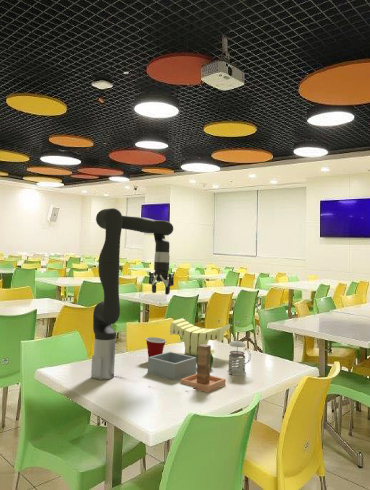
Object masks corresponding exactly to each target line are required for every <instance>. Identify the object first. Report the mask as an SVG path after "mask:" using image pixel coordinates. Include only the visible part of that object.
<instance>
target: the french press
mask: <svg viewBox="0 0 370 490" xmlns="http://www.w3.org/2000/svg"><path fill="white" fill-rule="evenodd" d="M236 324H237V325H239V324H241V321H240V320H236ZM228 344H229V346H231V347H234V348H236V350H231V351H229V353H230V354H229V355H228V370H226V372H227V373H228V375H230V374H232V375H231V376H235V375H243V376H246V375H247V374H246V373H247V372H246V364H249V362H250V361H251V357H252V354H251V352H250V349H249V348H246V345H247V344H246V343H245V342H244V341H239V338H237V340H233V341H231V342H229V343H228ZM243 347H245V348H244V350H243V351H240V350H238V349H239V348H243ZM246 351H247V353H248V358H249V359H248V361H247V362H246V355H245V352H246ZM245 374H246V375H245Z"/></svg>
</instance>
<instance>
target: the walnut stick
mask: <svg viewBox="0 0 370 490" xmlns="http://www.w3.org/2000/svg"><path fill="white" fill-rule="evenodd" d="M211 349H212V346H211V345H210V344H207V345H206V344H202V345H198V361H197V363H196V374H197V383H200V384H204V385H205V384H207V383H209V382H210V375H211V369H210V356H211Z"/></svg>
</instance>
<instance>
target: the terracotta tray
mask: <svg viewBox="0 0 370 490" xmlns="http://www.w3.org/2000/svg"><path fill="white" fill-rule="evenodd" d="M226 381H227V380H226V378H222V377H219V376H214V375H211V374H210V382H209V383H207V384H205V385H204V384H200V383H197V373H194V374H191V375H188V376H185V377H183V378H180V383H181V384H184V385H187V386H190V387H193V390H196V389H197V390H196V391H199V390H201V392H203V391H204V392H203V393H206V392H207V393H211V392H213V391H214V389H215V390H217V389H219V387H220V388H221V386H222V387H224V386H226ZM223 385H224V386H223ZM212 390H213V391H212Z"/></svg>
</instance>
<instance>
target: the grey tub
mask: <svg viewBox="0 0 370 490" xmlns="http://www.w3.org/2000/svg"><path fill="white" fill-rule="evenodd" d="M196 359H197V358H196V356H193V355H188V354H182V353H179V352H174V351H167V352H163V353H162V354H159V355H155V356H152V357H148V359H147V360H148V361H147V374H151V375H154V376H158V377H162V378H165V379H168V380H172V381H176V380H181V379H183V378H186V377H188V376H191V375H194V374H197V363H196Z"/></svg>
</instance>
